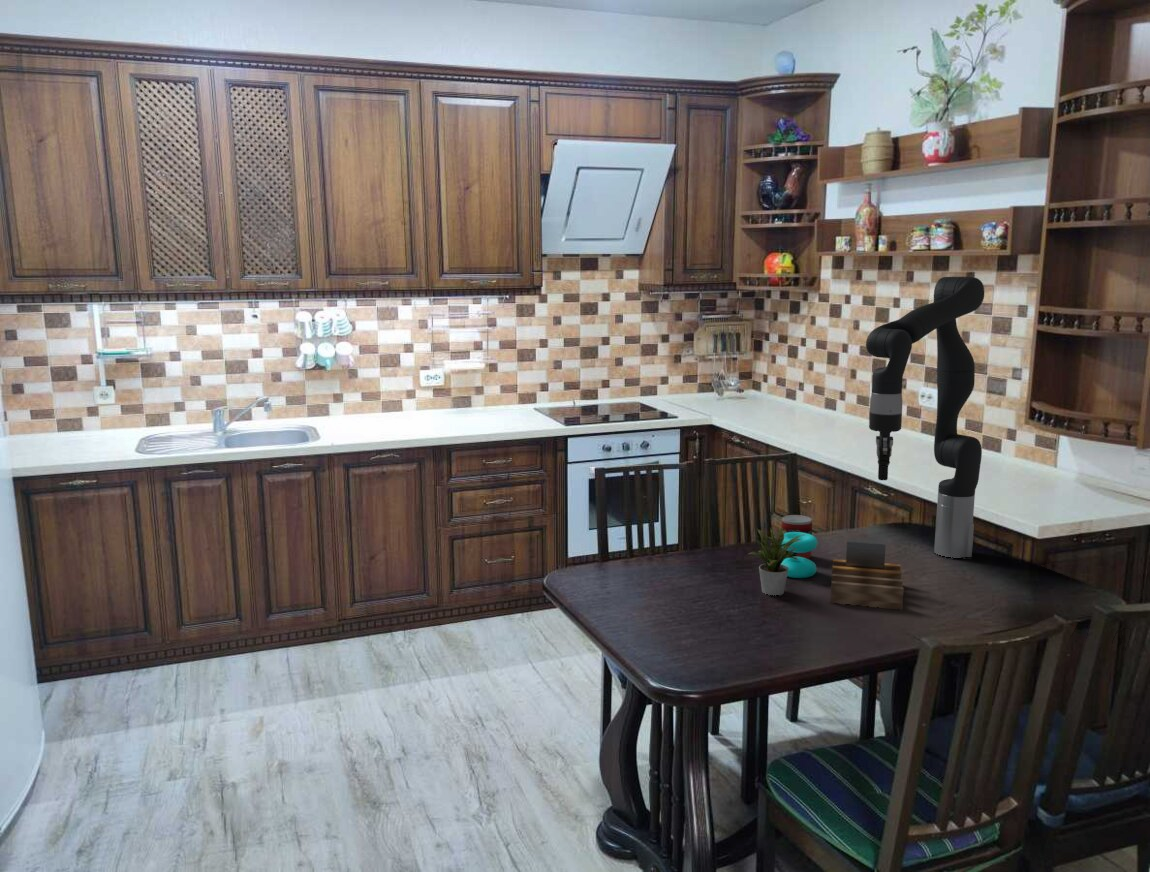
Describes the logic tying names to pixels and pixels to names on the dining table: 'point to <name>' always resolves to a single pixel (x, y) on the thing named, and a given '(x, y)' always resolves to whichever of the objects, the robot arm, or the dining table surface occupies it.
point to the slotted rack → (867, 586)
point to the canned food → (797, 529)
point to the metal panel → (865, 554)
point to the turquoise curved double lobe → (802, 565)
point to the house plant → (774, 563)
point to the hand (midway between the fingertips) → (882, 479)
